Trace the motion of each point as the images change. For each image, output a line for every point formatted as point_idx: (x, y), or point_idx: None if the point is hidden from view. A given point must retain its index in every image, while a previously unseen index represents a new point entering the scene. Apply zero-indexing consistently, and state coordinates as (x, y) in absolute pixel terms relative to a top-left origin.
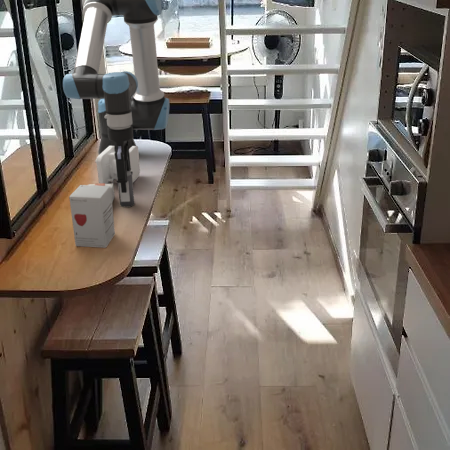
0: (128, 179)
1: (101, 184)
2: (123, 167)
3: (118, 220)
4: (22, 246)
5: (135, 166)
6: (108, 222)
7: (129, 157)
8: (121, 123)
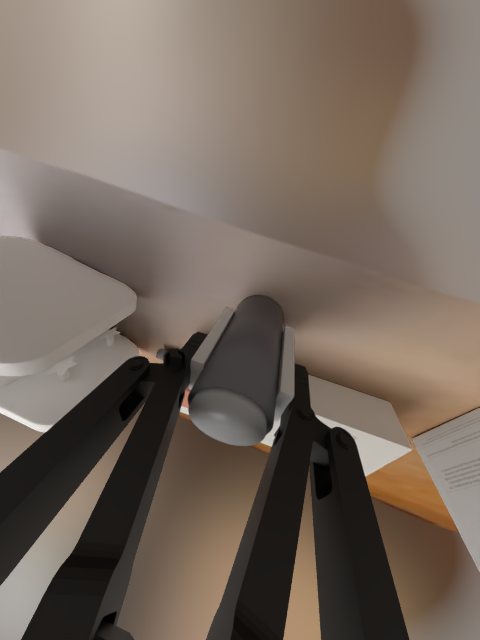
0: (272, 393)
1: (186, 396)
2: (400, 635)
3: (383, 365)
4: (388, 500)
5: (9, 266)
6: None
7: (55, 440)
8: None
